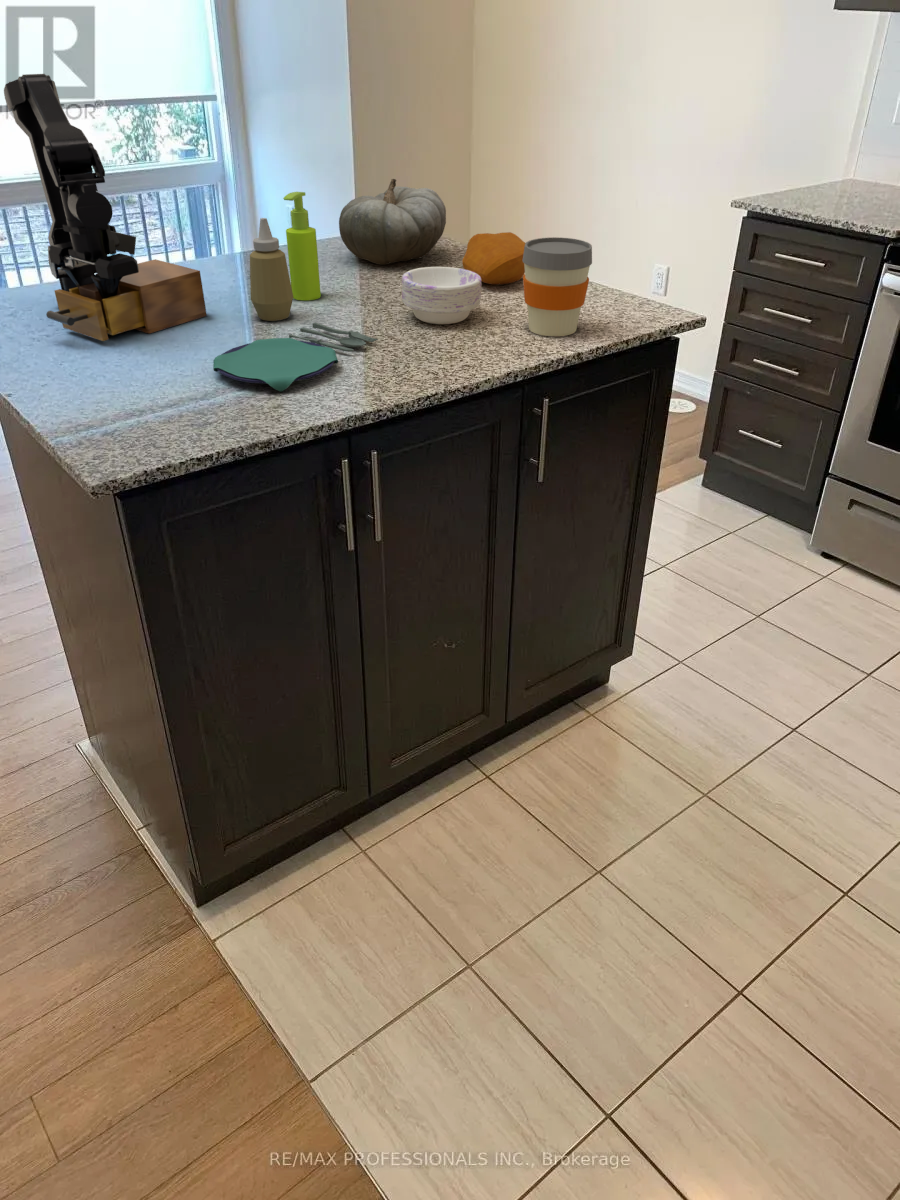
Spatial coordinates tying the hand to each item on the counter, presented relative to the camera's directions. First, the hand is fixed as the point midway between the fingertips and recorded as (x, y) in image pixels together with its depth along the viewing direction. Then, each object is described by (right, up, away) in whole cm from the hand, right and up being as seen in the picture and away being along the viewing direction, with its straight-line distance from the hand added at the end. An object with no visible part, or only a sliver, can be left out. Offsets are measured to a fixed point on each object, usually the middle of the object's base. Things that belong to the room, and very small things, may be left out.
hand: (103, 308), depth 164 cm
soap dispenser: (+34, +9, +21) cm, 41 cm away
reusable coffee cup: (+83, -2, +5) cm, 83 cm away
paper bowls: (+62, +1, +10) cm, 63 cm away
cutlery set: (+37, -13, -10) cm, 41 cm away
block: (0, -1, +1) cm, 1 cm away
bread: (+73, +17, +32) cm, 81 cm away
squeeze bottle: (+29, +1, +10) cm, 31 cm away
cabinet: (+7, +1, +10) cm, 12 cm away
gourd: (+50, +27, +47) cm, 74 cm away
